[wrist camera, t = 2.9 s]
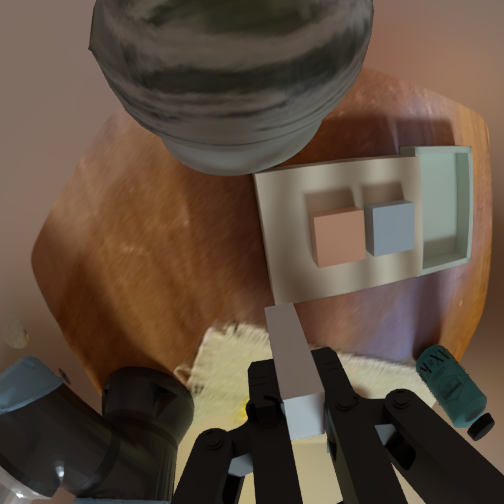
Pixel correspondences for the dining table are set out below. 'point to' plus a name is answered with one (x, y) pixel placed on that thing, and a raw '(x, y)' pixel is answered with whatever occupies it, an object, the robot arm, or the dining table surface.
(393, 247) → the tile slate
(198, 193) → the dining table surface
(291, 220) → the board
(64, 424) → the robot arm
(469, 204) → the tray
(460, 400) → the beverage bottle
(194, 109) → the grey tall rounded cylinder
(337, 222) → the tile terracotta
